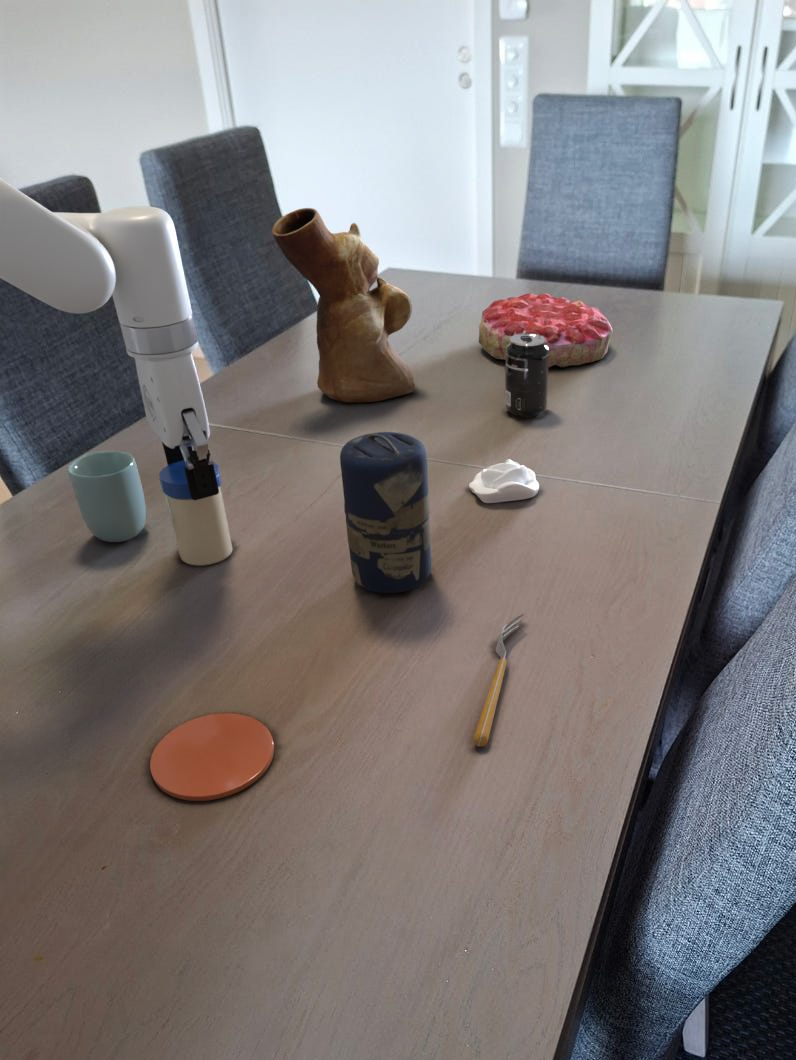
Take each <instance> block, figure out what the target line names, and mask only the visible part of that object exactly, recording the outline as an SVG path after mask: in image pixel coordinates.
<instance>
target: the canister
mask: <svg viewBox="0 0 796 1060" xmlns="http://www.w3.org/2000/svg"><path fill="white" fill-rule="evenodd" d="M339 461H340V462H339V463H340V470H341V481H342V491H343V500H344V502H343V503H344V505H343V509H344V514H345V526H346V536H347V543H348V551H349V560H350V568H351V573H352V577H353V579H354V580H355V582H356V583H357V584H358V585H359V586H361V587H362V588H364V589H366V590H368V591H371V592H375V593H379V594H398V593H404V592H408V591H411V590H412V589H415V588H417V587H420V586H421V585H422V584H423V583H425V581H426V580H427V579H428V578H429V576H430V574H431V572H432V547H431V546H432V545H431V541H432V540H431V523H430V522H431V521H430V496H429V493H430V492H429V474H428V473H429V472H428V454H427V449H426V447H425V445H424V443H423V442H422V441H421V440H420V439H419V438H416V437H415V436H412V435H410V434H407V433H402V432H396V431H377V432H371V433H370V432H369V433H365V434H361V435H359V436H356V437H354V438H352V439H350V440H349V441H347V442H346V443H345V444H344V445H343V446H342V448H341V450H340V454H339Z"/></svg>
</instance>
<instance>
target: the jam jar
mask: <svg viewBox="0 0 796 1060" xmlns="http://www.w3.org/2000/svg"><path fill="white" fill-rule="evenodd" d="M218 489H219V493H218V494H217V495H213V496H210V497H206V498H202V499H199V500H193V499H192V498H189V499H179V498H173V497H170V496H167V495H166V494H165V493H164V495H165V499H166V503H167V508H168V511H169V516H170V520H171V524H172V528H173V529H172V530H173V533H174V537H175V541H176V546H177V549H178V554H179V558H180V559H181V561H182V562H184V563H186V564H188V565H191V566H208V565H213V564H216V563H220V562H222V561H224V560H225V559H227V558H228V557H230V556H231V554H232V553H233V542H232V538H231V533H230V528H229V523H228V518H227V511H226V508H225V502H224V497H223V492H222V487H221V486H220V487H219V488H218Z"/></svg>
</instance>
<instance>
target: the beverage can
mask: <svg viewBox="0 0 796 1060" xmlns="http://www.w3.org/2000/svg"><path fill="white" fill-rule="evenodd" d="M548 363H549V348H548V346H547V345H546V344H545V337H543V336H541V335H538V334H532V333H522V334H516V335H513V336H512V337H511V338H510V344H509V345H508V346H507V347H506V360H505V379H504V380H505V382H504V383H505V384H504V385H505V387H504V388H505V391H504V393H505V395H504V396H505V397H504V398H505V402H504V403H505V404H504V405H505V409H506V410H507V411H508V412H509V413H511V414H512V415H513V416H516V417H519V418H532V417H533V418H534V417H536V416H539V415H540V414H541V413H544V411H545V410H546V409H547V407H548V390H549V389H548V387H549V386H548V384H549V367H548Z"/></svg>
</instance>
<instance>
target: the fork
mask: <svg viewBox="0 0 796 1060" xmlns="http://www.w3.org/2000/svg"><path fill="white" fill-rule="evenodd" d="M522 617H524V613H521V614H520V615H518V616H516V617H515V618H514V619H512V620H511V621H510V622H508V623H506V624H505V625H504V626H503V627H502V629H501V632H500V634H499V637H498V640H497V645H496V646H495V647H496V648H495V652H496V654H497V655H498V656H499V660H498V662H497V666H496V669H495V672H494V675H493V678H492V681H491V683H490V688H489V690H488V693H487V696H486V698H485V702H484V705H483V708H482V711H481V714H480V717H479V720H478V723H477V726H476V729H475V732H474V735H473V743H474V745H475V746H476V747H480V748H481V747H485V746H486V745H487V744H488V742H489V739H490V733H491V729H492V725H493V721H494V717H495V714H496V708H497V704H498V700H499V696H500V692H501V688H502V684H503V680H504V676H505V671H506V667H507V663H508V662H507V659H506V655H507V650H506V647H505V644H504V640H505V639H506V638H507V637H508V636H509V635H510V634H511V633H512V632H514V631H515V630H517V629H519V627H520V625H519V624H520V623H521V622H522V619H521V618H522Z"/></svg>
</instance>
